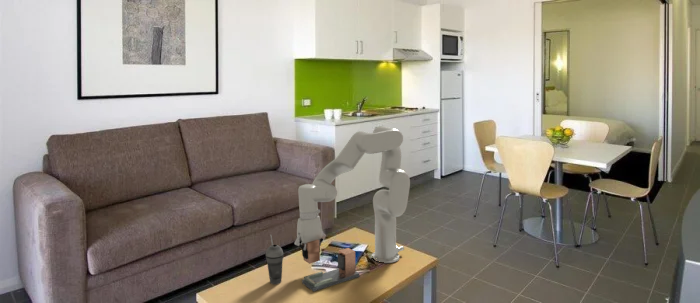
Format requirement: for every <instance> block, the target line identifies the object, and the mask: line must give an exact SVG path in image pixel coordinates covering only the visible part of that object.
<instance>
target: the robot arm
mask: <svg viewBox="0 0 700 303" xmlns="http://www.w3.org/2000/svg"><path fill="white" fill-rule="evenodd" d="M372 131H373V132H367V131H363V130H362V131H359V130H358V131H357V132H355V133H353V135H352V136H351V137H350V138H349V140H348V141H347V142H346V145H344V147H343V148H342V150H341V151H340V153H339V154H338V155H337V157H335V158H334V159H333V160H331V161H330V162H329V163H327V164H326V165H325V166H324V167H323V168H322V169H321V170H320V171H319V173H318V174H317V175H316V177H315V178H314V180H313V181H312V183H311V184H309V183H305V184H302V185H299V187H298V190H297V191H298V206H299V218H298V219H297V224H296V225H297V227H296V239H295V240H294V245H295V246H298V247H299V248H300V249H301V255H302V257H304V258H305V259H308V250H307V249H306V248H307V243H308V242H312V241H315V240H319V252H320V253H321V245H322V243H323V241H324V240H325V238H326V237H327V234H326V233H325V232H324V231H323V226H322V220H321V216H320V215H319V214H320V213H321V209H319V208H318V206H319V205H318V203H326V202H332V201H334V200H335V199H336V197H337V196H338V190H337V188H336V186H335V185H333V184H332V183H333V181H334V180H335V179H336V178H338V177H339V176H341V175H343V174H346V173H349V172H351V171H354V169H355V167H356V166H357V165H358V163H359V162H360V160H361V159H362V157H363V156H364V155H365V154H369V155H373V154H374V155H375V154H379V153H381V163H380V170H379V178H378V181H379V183H380V185H382V187H385V188H387V189H380V190H378V191H376V192H375V194H374V195H373V199H372V206H373V207H372V208H373V211H374V252H372V254H371V257H372V256H373V258H374V259H375V258H377V259H376V260H377V261H380V262H384V263H383V264H391V263H395V262H396V263H397V261H399V260H400V254H399V252H401V251H404V250H405V248H404V246H401V245H400V246H398V245H397V218H398V217H401V216H403V214H404V213H405V212H406V210H407V207H408V201H409V195H410V187H411V180H410V176H409V174H408V173H407V172H406V171H404V170H403V169H401V164H402V163H401V162H402V150H401V145H402V144H403V142H404V135H403V133H402V132H401V130H398V129H397V128H393V127H389V126H385V125H380V126H377V127H375V128H374V129H373V130H372ZM300 242H301V243H300ZM304 258H303V259H304Z"/></svg>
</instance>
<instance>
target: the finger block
mask: <svg viewBox="0 0 700 303" xmlns="http://www.w3.org/2000/svg"><path fill="white" fill-rule="evenodd" d="M306 249H307V250H308V259H305V258H304V257H303V256H302V257H303V261H304V262H306V263H308V264H314V263H316V262H319V261H321V257H320V255H321V251H320V252H319V240H315V241H312V242H308V243H307V248H306Z"/></svg>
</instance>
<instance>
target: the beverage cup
mask: <svg viewBox="0 0 700 303" xmlns="http://www.w3.org/2000/svg"><path fill="white" fill-rule="evenodd" d="M269 235H270V242H271V245H269V247H267V248H266V252H265V259H266V262H267V264H266V265H267V272H268V278H269V282H270V284H271V285H279V284H281V283H282V278H283V260H284V255H285V253H284V251H283V248H282V247H281V246H280V245H278V244H274V242H273V237H272V234H269Z"/></svg>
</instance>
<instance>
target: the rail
mask: <svg viewBox="0 0 700 303" xmlns="http://www.w3.org/2000/svg"><path fill="white" fill-rule="evenodd" d="M357 278H360V273H359V272H357V270H356V251H355V250H353V249H351V248H349V247H347V248H343V249H340V250H338V253H337V268H336V269H333V270H330V271H326V272H323V271H319V272H315V273H312V274H308V275H305V276H303V279H301V283H302V285H304V286H305V287H306V288H308V289H309V290H310V291H312V292H317V291H320V290H322V289H326V288H330V287H331V286H332V287H333V286H334V285H340V284H341V283H344V282H345V283H346V282H347V281H351V280H353V279H357Z"/></svg>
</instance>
